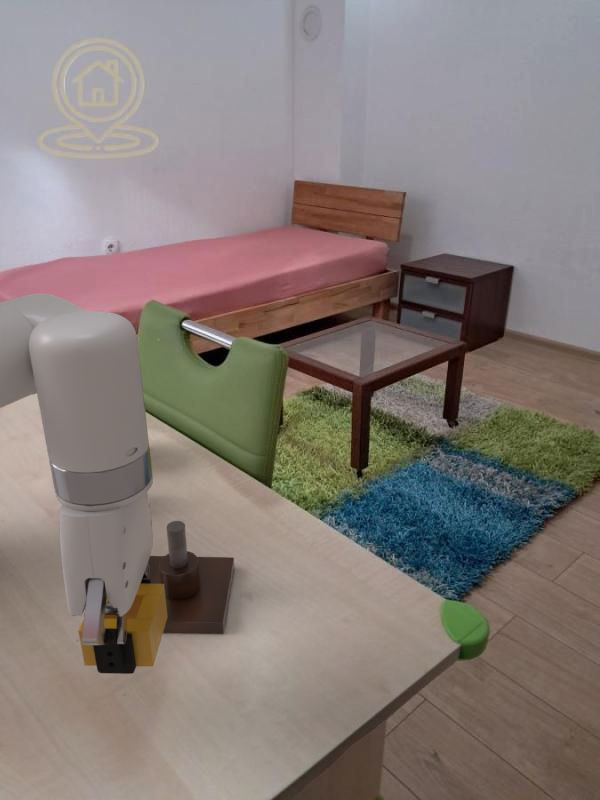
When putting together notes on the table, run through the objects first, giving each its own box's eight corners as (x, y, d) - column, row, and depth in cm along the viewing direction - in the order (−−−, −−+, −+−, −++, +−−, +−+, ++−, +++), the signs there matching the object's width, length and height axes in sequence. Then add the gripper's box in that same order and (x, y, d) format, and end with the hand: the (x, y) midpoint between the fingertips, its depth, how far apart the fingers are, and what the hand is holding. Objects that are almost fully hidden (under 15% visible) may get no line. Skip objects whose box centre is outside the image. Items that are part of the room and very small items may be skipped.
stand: (121, 631, 68) (111, 557, 64) (145, 565, 78) (138, 497, 74) (223, 633, 68) (219, 559, 64) (234, 567, 78) (231, 498, 74)
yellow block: (84, 666, 55) (77, 630, 53) (104, 615, 60) (99, 582, 58) (153, 667, 55) (149, 632, 53) (167, 616, 60) (164, 583, 58)
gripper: (90, 420, 58) (113, 577, 65) (8, 535, 42) (51, 724, 50) (171, 421, 58) (185, 578, 65) (120, 536, 42) (146, 725, 50)
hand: (127, 639), depth 57 cm, fingers closed on yellow block, 6 cm apart
